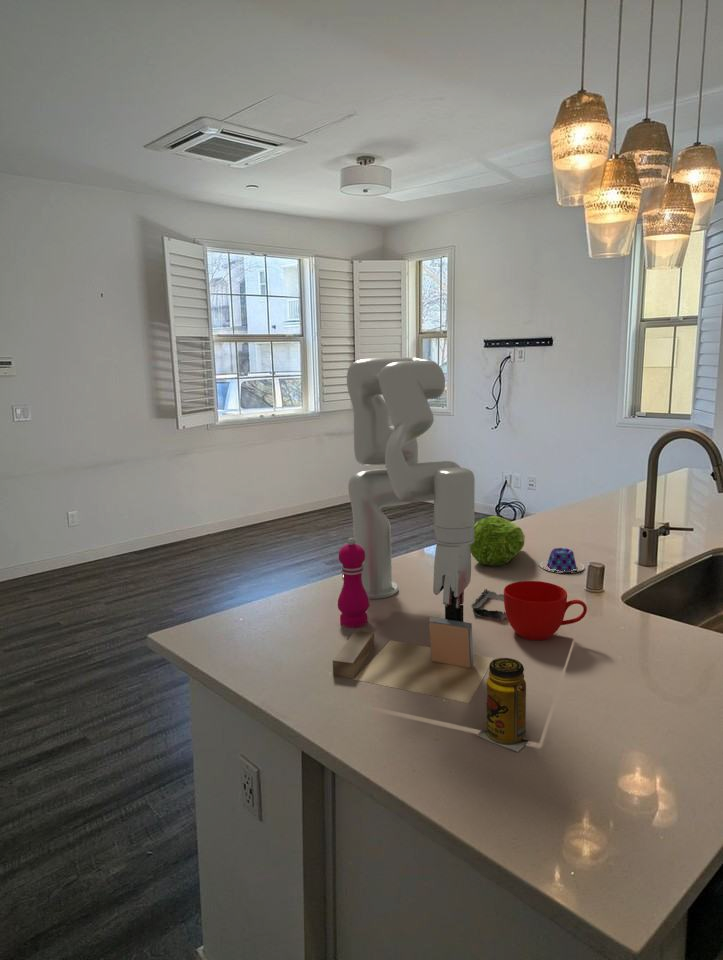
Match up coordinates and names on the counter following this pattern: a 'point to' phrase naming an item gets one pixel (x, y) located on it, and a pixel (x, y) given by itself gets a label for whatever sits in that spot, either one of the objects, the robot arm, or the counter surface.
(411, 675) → the cork mat
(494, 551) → the lettuce
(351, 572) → the pepper mill
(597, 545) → the counter surface
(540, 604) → the ceramic cup
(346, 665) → the walnut turner
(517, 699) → the condiment
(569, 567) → the blue bucket hat
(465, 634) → the slate tile
